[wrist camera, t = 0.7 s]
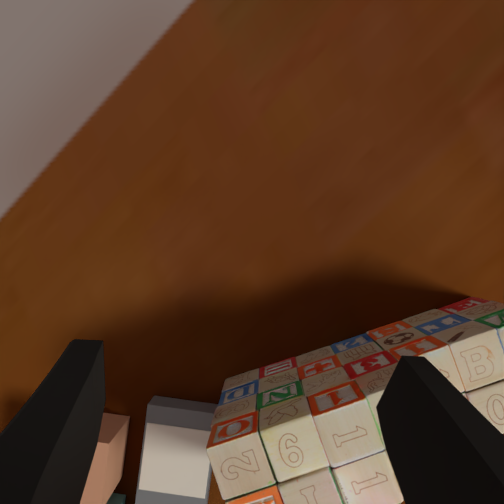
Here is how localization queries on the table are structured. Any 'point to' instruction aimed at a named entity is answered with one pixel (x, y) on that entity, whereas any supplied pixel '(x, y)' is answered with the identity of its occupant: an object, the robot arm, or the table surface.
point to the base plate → (175, 452)
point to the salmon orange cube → (107, 459)
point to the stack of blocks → (346, 409)
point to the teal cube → (117, 499)
